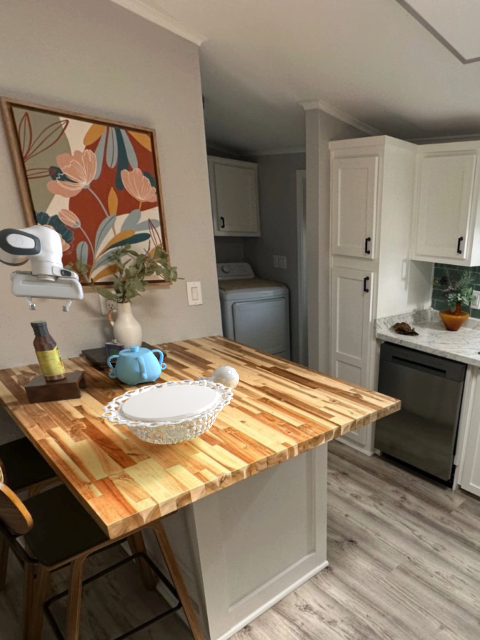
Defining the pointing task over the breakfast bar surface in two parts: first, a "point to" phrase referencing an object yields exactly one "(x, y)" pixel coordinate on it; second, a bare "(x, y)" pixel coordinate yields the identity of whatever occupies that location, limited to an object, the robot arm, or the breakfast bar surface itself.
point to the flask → (114, 348)
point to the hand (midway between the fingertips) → (49, 310)
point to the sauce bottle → (47, 352)
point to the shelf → (55, 388)
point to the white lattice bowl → (169, 410)
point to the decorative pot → (136, 365)
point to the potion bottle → (223, 377)
